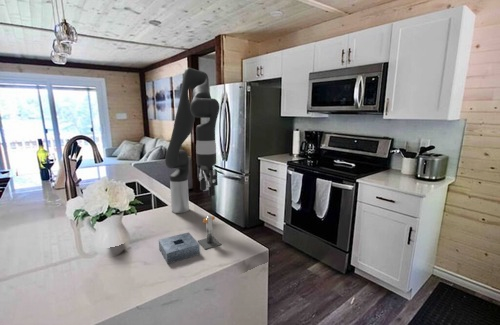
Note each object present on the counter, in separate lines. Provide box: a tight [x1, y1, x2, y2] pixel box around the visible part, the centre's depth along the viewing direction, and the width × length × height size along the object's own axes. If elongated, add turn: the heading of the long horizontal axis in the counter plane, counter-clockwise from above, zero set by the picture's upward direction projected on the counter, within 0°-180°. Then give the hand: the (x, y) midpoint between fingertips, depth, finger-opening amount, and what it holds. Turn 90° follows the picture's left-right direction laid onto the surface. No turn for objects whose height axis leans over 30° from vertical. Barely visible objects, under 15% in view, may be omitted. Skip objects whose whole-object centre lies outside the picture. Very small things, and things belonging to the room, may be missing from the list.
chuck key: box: [202, 215, 216, 244], centre depth 105 cm, size 5×2×11 cm, turn 136°
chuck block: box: [158, 232, 201, 265], centre depth 99 cm, size 12×12×4 cm
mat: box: [197, 236, 222, 250], centre depth 106 cm, size 8×7×1 cm
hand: (207, 192), depth 102 cm, fingers open, 8 cm apart
